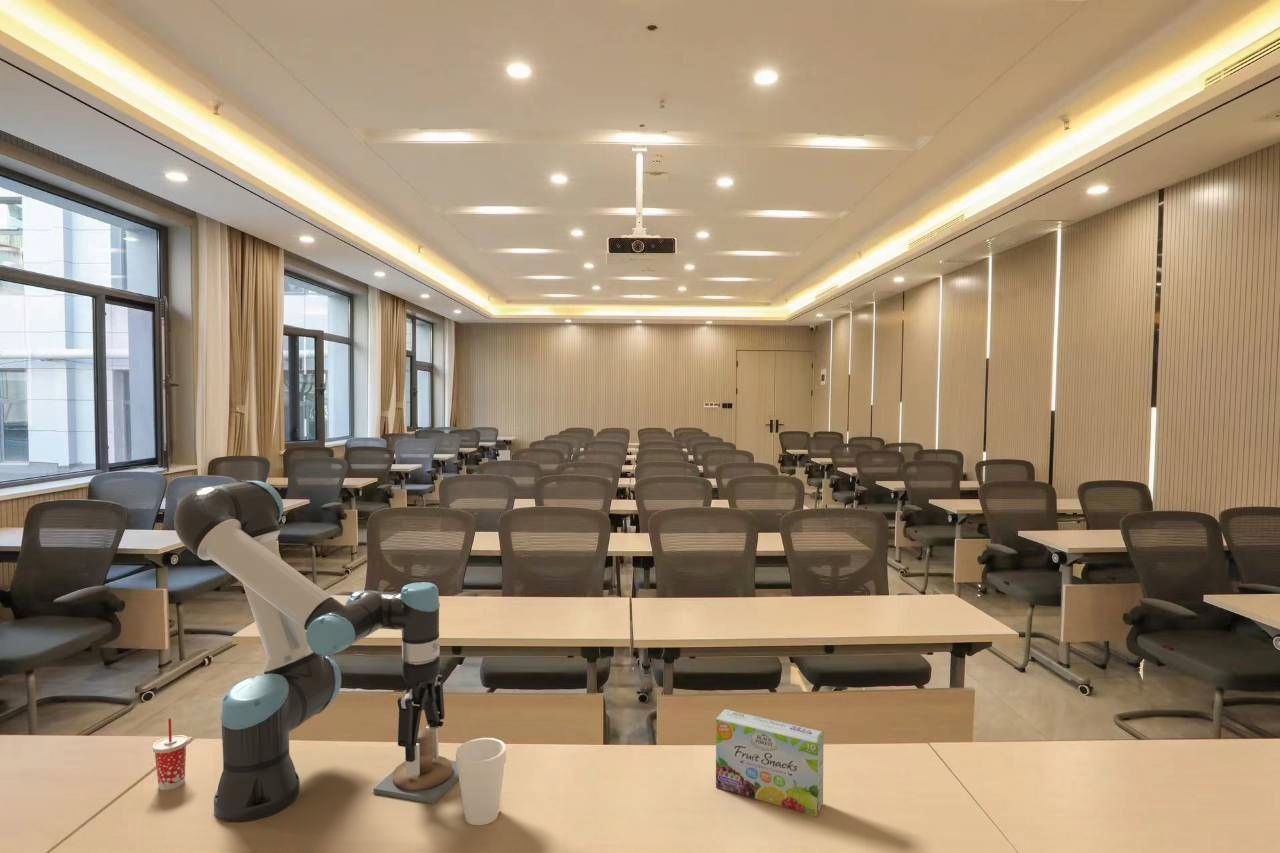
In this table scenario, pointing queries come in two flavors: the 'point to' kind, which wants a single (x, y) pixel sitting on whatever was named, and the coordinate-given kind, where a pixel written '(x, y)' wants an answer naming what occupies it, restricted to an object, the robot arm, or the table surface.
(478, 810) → the foam cup
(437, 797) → the mat
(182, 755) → the beverage cup
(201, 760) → the table surface
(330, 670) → the robot arm
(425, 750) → the lid
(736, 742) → the snack box
